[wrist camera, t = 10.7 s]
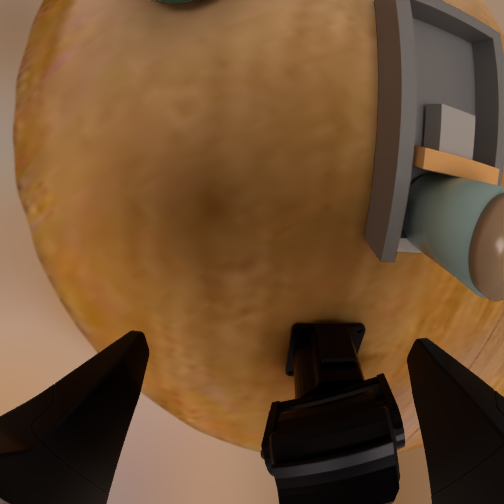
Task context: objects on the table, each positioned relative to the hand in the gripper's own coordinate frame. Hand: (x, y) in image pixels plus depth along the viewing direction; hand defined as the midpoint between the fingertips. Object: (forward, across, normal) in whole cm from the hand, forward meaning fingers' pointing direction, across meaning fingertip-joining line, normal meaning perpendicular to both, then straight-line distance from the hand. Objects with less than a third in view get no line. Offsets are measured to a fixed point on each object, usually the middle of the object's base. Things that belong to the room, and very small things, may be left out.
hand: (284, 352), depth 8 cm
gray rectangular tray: (+12, -11, -8) cm, 18 cm away
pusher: (+11, -11, -7) cm, 17 cm away
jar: (+10, -11, -2) cm, 15 cm away
